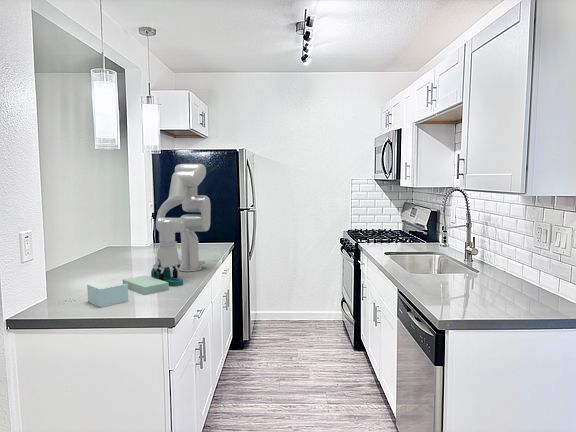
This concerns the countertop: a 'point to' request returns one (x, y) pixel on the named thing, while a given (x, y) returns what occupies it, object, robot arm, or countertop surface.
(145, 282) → the base plate
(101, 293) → the l-shaped corner panel
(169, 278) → the bracket
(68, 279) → the countertop surface
